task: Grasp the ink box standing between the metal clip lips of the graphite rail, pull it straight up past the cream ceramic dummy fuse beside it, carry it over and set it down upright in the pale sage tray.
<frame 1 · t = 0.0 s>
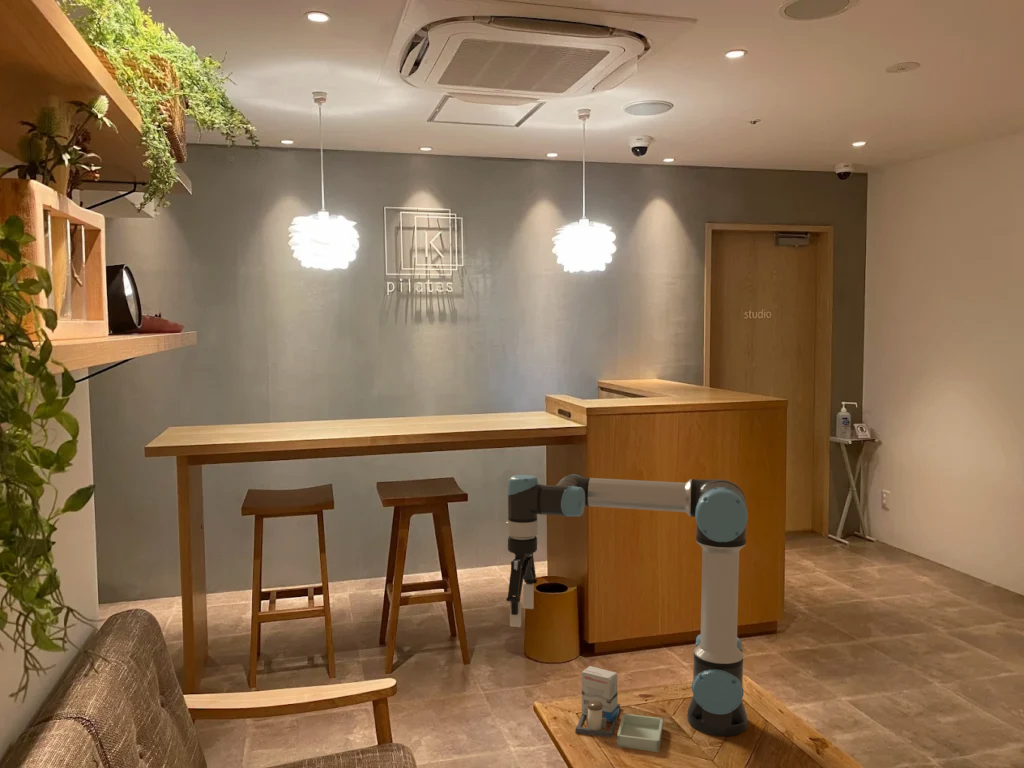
hand: (522, 617, 212), 28 cm above the table, fingers open, 13 cm apart
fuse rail: (598, 720, 215), on the table
tray: (640, 737, 206), on the table
ink box: (599, 715, 217), touching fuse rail
dummy fuse: (594, 731, 209), on the table
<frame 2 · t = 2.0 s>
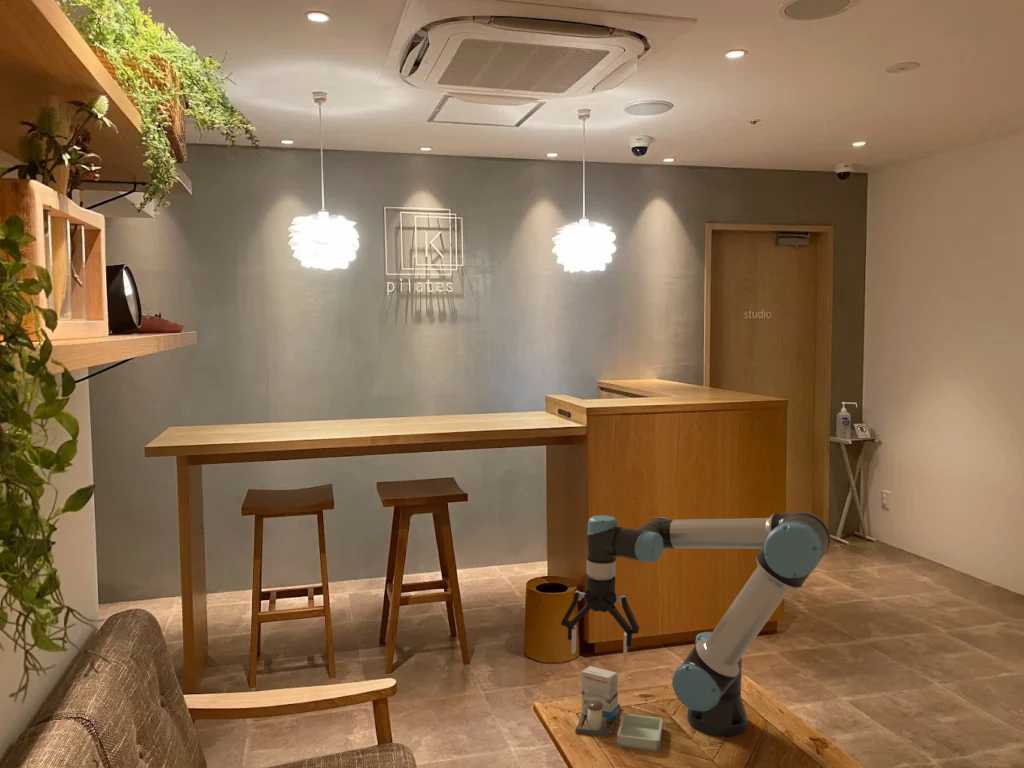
hand: (599, 654, 216), 17 cm above the table, fingers open, 13 cm apart
nothing on the table moved.
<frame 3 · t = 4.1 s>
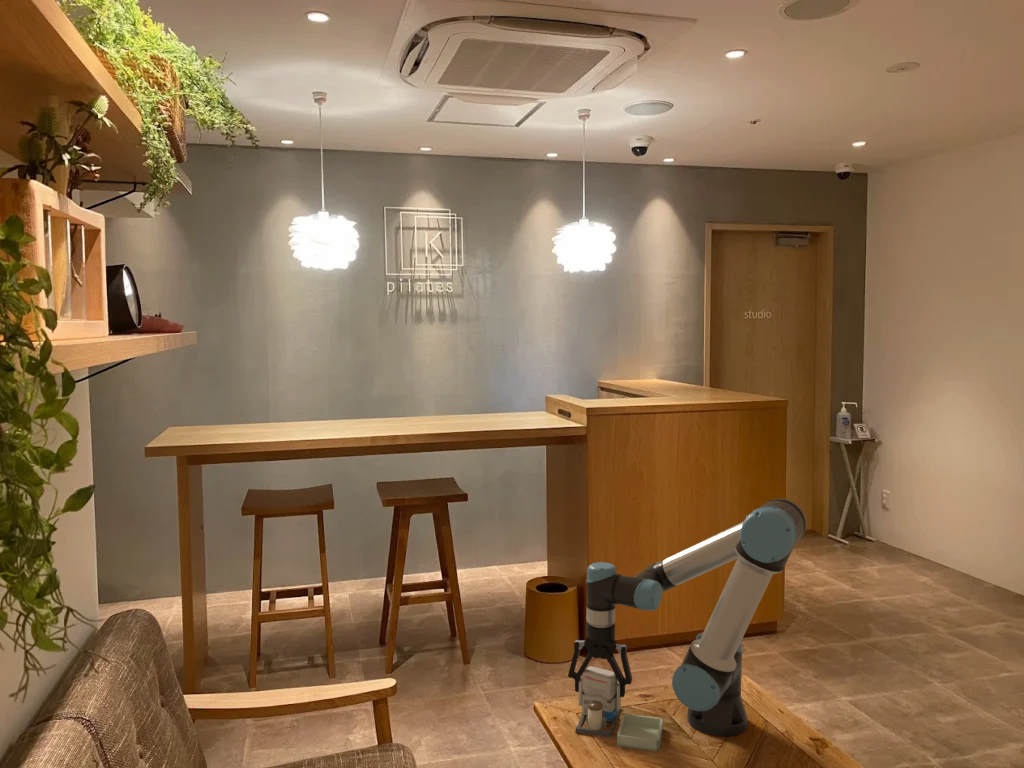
hand: (599, 705, 217), 3 cm above the table, fingers closed on ink box, 9 cm apart
ink box: (599, 715, 217), touching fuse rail, gripper
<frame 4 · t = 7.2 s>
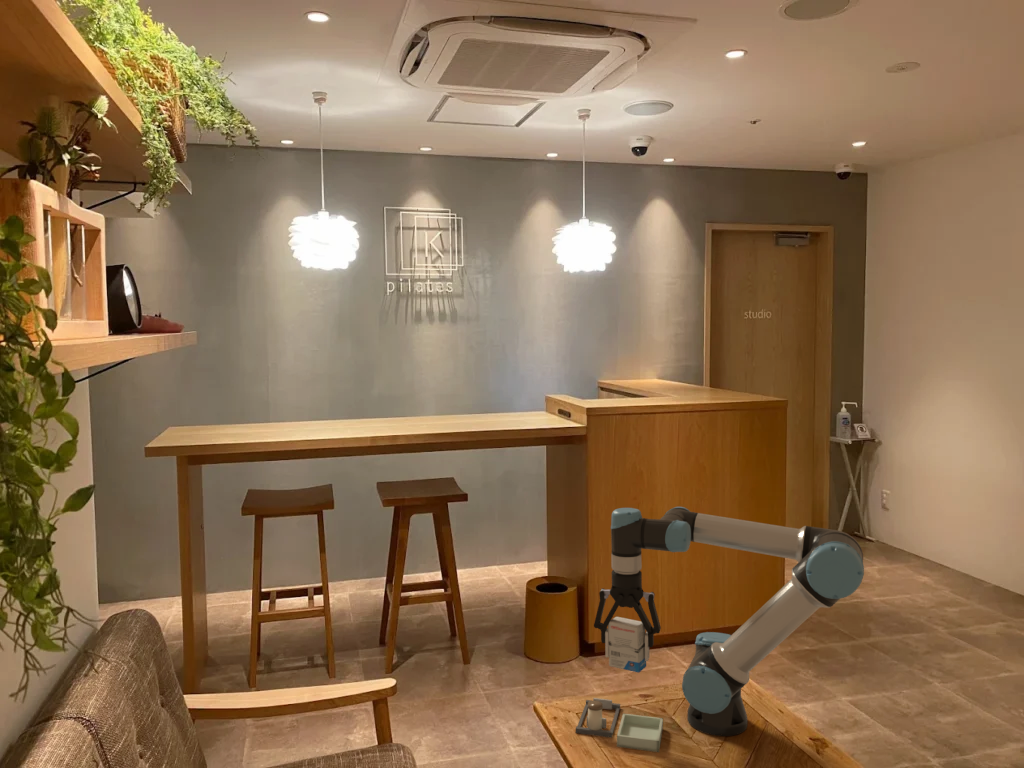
hand: (627, 657, 209), 19 cm above the table, fingers closed on ink box, 9 cm apart
ink box: (627, 667, 209), point 16 cm above the table, touching gripper
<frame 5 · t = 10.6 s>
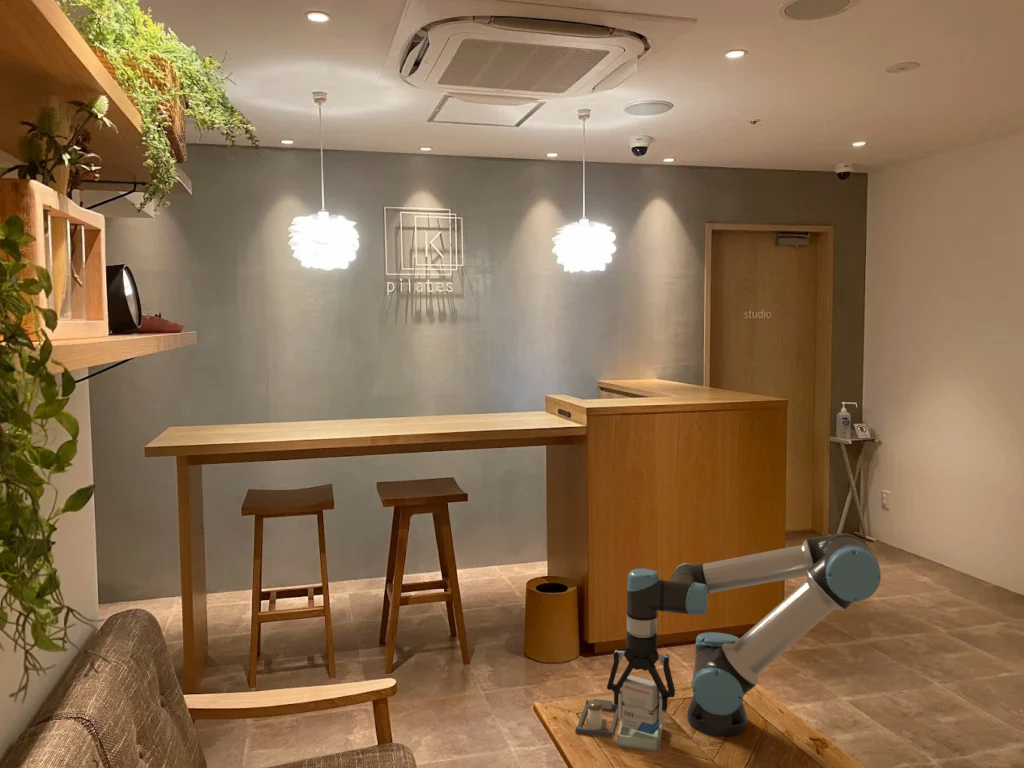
hand: (640, 719, 206), 5 cm above the table, fingers closed on ink box, 9 cm apart
ink box: (640, 727, 206), point 3 cm above the table, touching gripper, tray
when the fingers open (5 cm above the table, at t = 11.3 s): ink box stays where it is, resting on tray.
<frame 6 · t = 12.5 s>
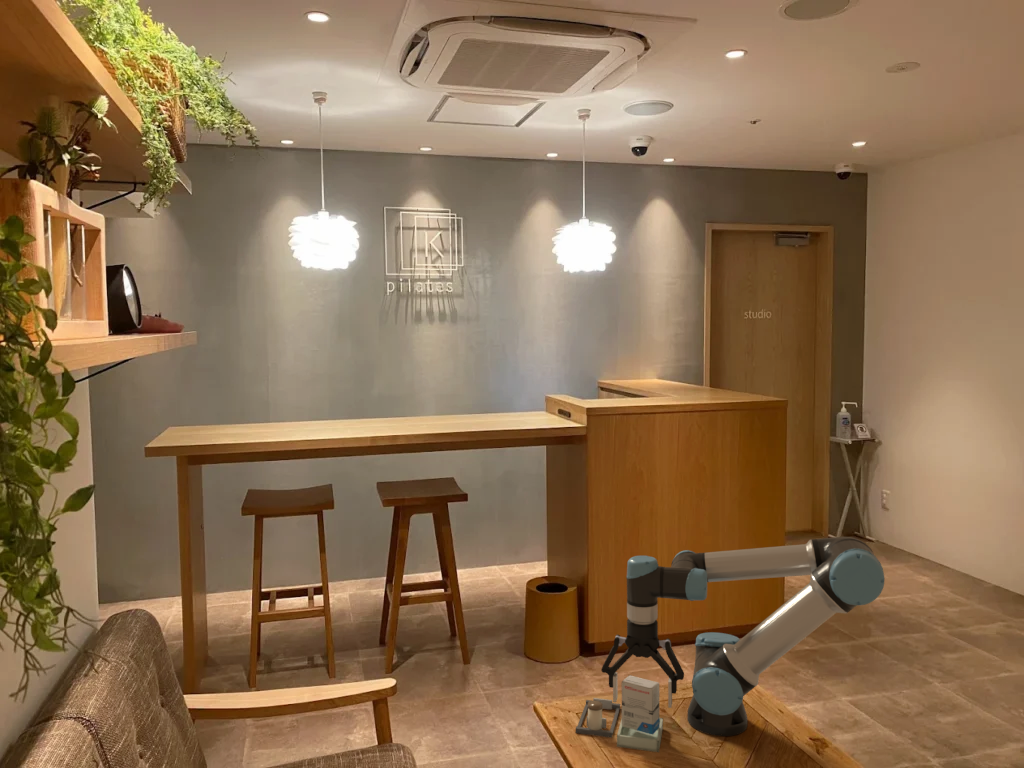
hand: (642, 702, 205), 9 cm above the table, fingers open, 13 cm apart
ink box: (640, 727, 206), point 3 cm above the table, touching tray
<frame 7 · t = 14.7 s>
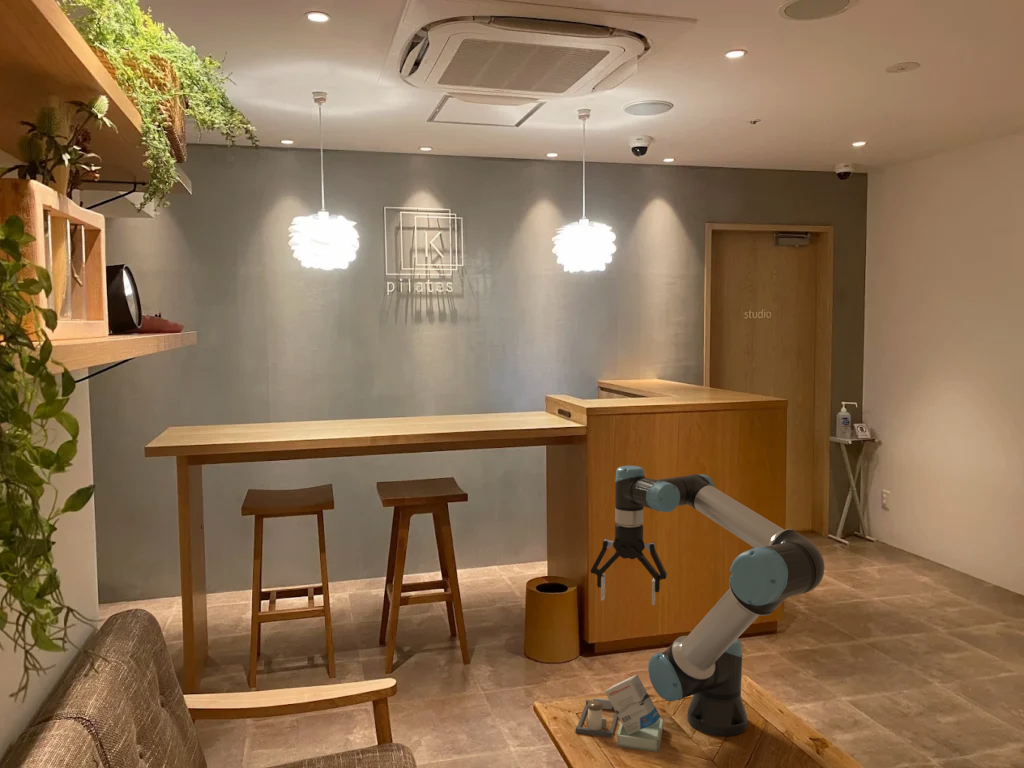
hand: (628, 601, 222), 29 cm above the table, fingers open, 13 cm apart
ink box: (644, 727, 206), point 3 cm above the table, touching tray
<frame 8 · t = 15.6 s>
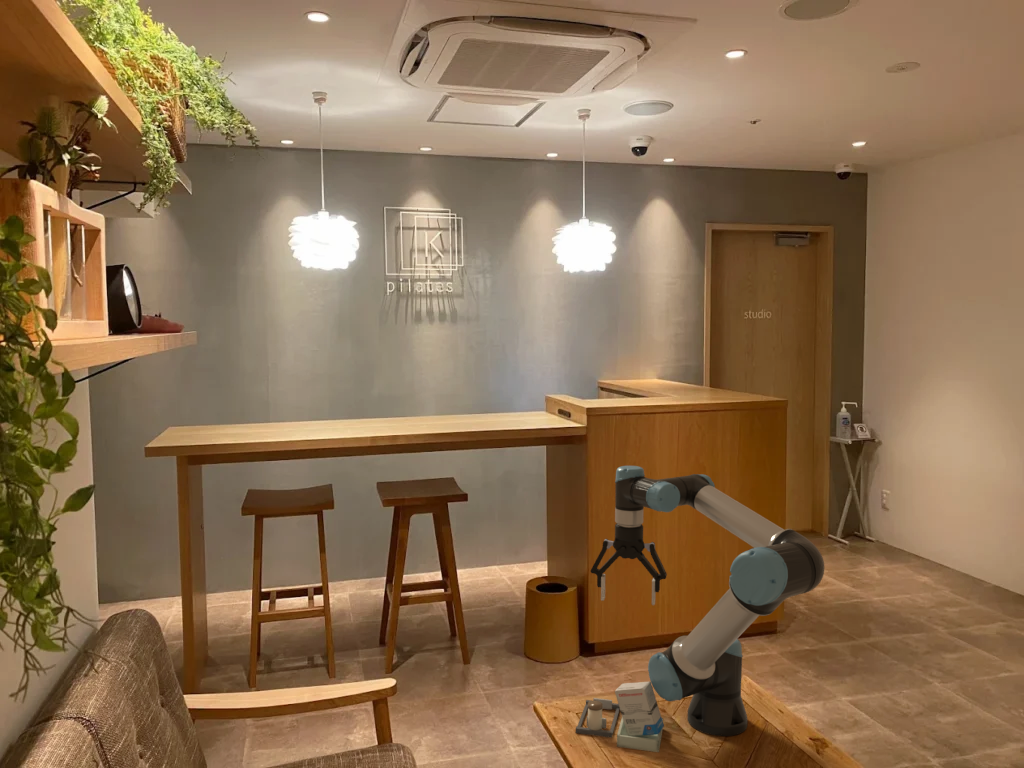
hand: (628, 601, 222), 29 cm above the table, fingers open, 13 cm apart
ink box: (646, 732, 205), point 2 cm above the table, touching tray
at the end: ink box inside the target area on the tray (1.5 cm from its centre), point 1.7 cm above the tray's base; ink box tilted 17°; the gripper is holding nothing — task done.
